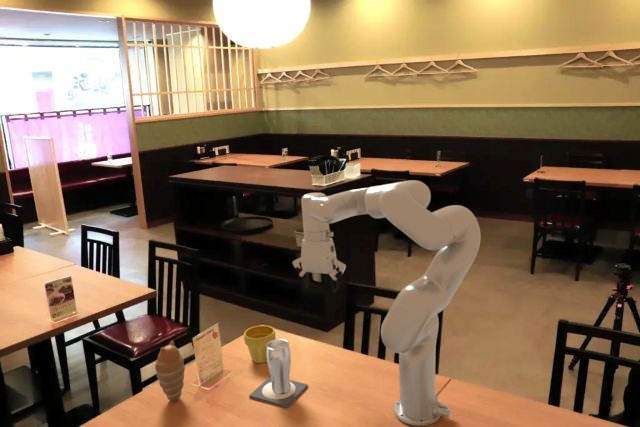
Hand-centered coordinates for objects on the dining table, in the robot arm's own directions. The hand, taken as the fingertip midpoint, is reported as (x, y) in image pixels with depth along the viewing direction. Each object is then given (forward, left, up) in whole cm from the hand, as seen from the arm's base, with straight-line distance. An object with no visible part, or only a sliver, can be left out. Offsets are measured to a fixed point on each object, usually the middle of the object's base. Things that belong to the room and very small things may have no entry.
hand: (320, 289), depth 159 cm
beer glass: (+7, +14, -28) cm, 32 cm away
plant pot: (+25, -1, -29) cm, 38 cm away
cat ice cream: (+35, +30, -29) cm, 54 cm away
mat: (+8, +14, -29) cm, 33 cm away
